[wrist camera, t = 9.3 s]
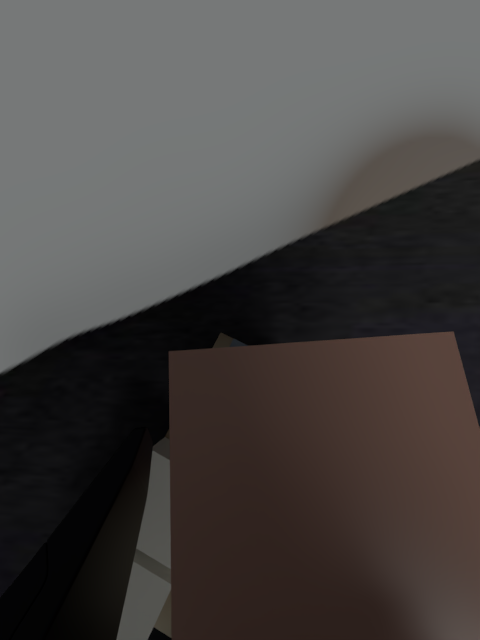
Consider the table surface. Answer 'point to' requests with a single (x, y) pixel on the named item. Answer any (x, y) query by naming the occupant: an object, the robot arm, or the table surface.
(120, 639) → the built blocks
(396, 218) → the table surface
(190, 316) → the table surface
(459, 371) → the tower block
